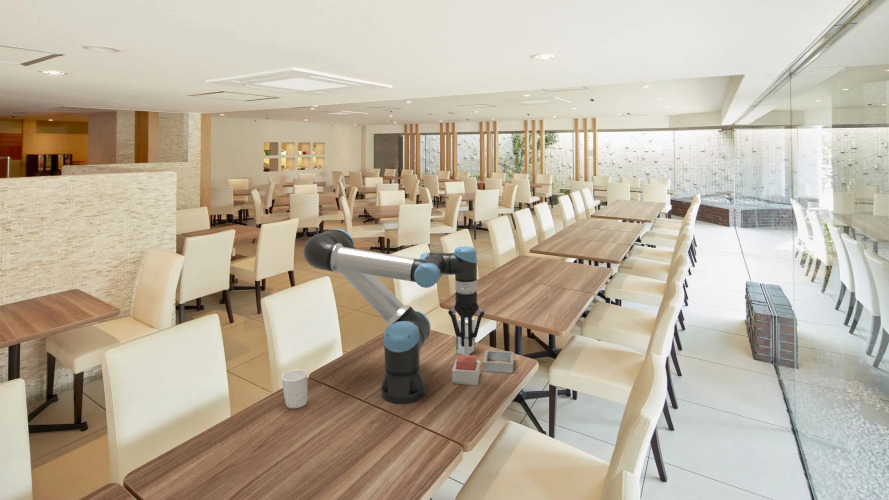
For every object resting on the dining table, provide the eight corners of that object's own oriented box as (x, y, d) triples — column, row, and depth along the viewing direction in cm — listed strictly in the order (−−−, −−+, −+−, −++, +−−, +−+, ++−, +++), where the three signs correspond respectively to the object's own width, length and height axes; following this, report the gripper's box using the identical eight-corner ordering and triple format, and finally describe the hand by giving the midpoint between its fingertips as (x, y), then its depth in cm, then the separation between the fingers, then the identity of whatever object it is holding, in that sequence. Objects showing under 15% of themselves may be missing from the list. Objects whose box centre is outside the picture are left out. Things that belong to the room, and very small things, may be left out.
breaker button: (456, 375, 162) (456, 362, 161) (458, 367, 168) (458, 354, 167) (474, 376, 161) (474, 363, 160) (476, 368, 167) (476, 355, 166)
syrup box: (462, 348, 191) (462, 315, 188) (475, 351, 188) (475, 317, 185) (455, 353, 186) (455, 319, 183) (468, 356, 183) (468, 322, 180)
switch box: (452, 383, 161) (452, 370, 160) (455, 371, 170) (455, 359, 169) (477, 385, 160) (477, 372, 159) (479, 373, 169) (479, 360, 168)
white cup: (294, 395, 155) (292, 368, 153) (314, 399, 152) (311, 371, 150) (278, 407, 148) (276, 378, 146) (298, 411, 145) (296, 382, 143)
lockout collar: (483, 371, 170) (483, 362, 170) (485, 358, 181) (485, 350, 180) (512, 373, 168) (513, 364, 168) (513, 360, 179) (513, 351, 178)
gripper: (445, 294, 156) (447, 358, 161) (484, 295, 154) (484, 360, 158) (449, 287, 163) (450, 349, 168) (485, 288, 161) (486, 351, 166)
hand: (466, 354), depth 163 cm, fingers closed
